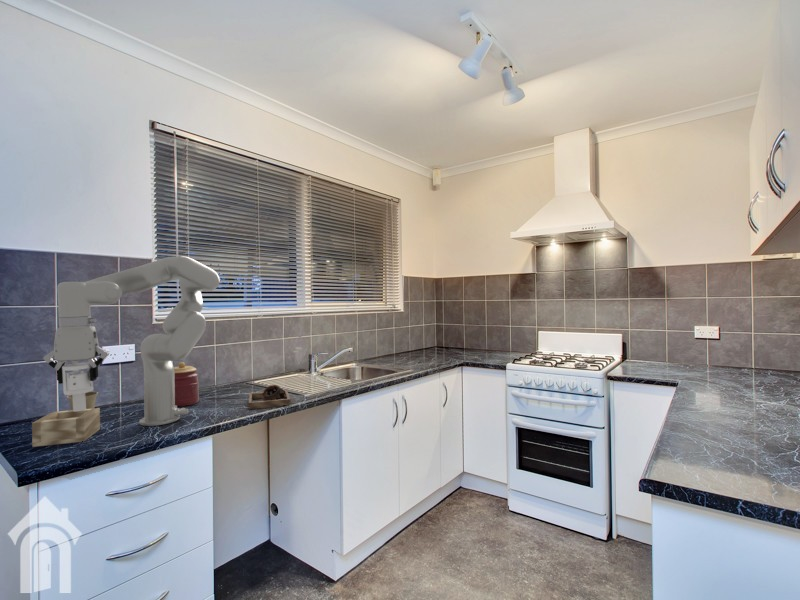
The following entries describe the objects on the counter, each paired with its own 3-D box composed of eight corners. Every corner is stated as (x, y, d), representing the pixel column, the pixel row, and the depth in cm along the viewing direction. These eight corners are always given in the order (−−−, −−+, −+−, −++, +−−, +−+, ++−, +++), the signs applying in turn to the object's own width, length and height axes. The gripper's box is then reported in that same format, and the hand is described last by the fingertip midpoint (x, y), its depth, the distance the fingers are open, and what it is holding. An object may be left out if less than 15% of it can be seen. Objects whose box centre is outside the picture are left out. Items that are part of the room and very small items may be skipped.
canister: (176, 408, 162) (175, 365, 162) (158, 405, 168) (157, 363, 168) (205, 401, 173) (205, 360, 173) (187, 398, 180) (187, 359, 180)
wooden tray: (287, 395, 182) (287, 390, 182) (290, 405, 165) (290, 399, 165) (249, 398, 177) (249, 393, 177) (248, 409, 160) (248, 402, 160)
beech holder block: (99, 428, 137) (99, 407, 137) (84, 441, 125) (84, 418, 125) (53, 433, 133) (53, 411, 133) (32, 446, 121) (32, 422, 121)
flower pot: (69, 422, 145) (69, 398, 145) (64, 417, 151) (64, 394, 151) (101, 416, 152) (100, 394, 152) (95, 412, 158) (95, 390, 158)
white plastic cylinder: (90, 405, 126) (88, 358, 126) (97, 409, 122) (94, 360, 122) (61, 410, 121) (59, 361, 121) (67, 415, 116) (65, 363, 116)
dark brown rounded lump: (291, 402, 172) (285, 388, 168) (272, 415, 167) (265, 401, 163) (279, 391, 180) (272, 377, 176) (260, 403, 175) (253, 389, 171)
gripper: (113, 320, 127) (116, 376, 128) (45, 323, 121) (48, 381, 122) (105, 322, 120) (107, 381, 121) (32, 325, 114) (35, 387, 115)
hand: (78, 380), depth 121 cm, fingers closed on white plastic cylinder, 7 cm apart
